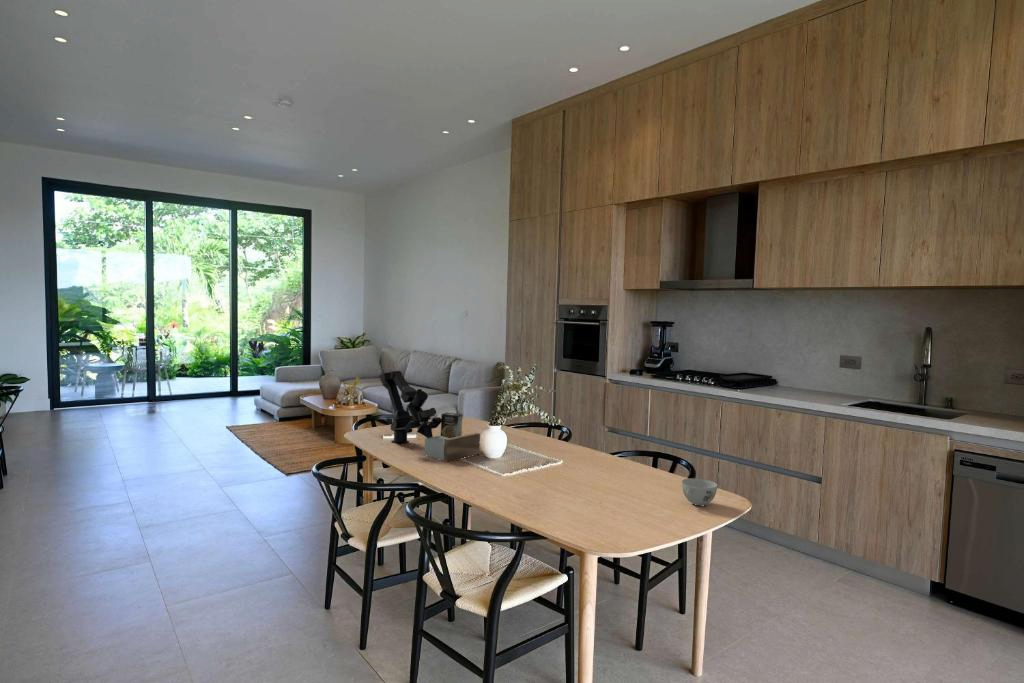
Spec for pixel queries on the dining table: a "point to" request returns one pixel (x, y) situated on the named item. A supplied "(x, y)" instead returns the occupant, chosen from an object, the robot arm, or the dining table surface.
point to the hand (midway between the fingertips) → (431, 439)
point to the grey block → (435, 447)
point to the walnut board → (461, 447)
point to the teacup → (699, 490)
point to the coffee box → (451, 425)
